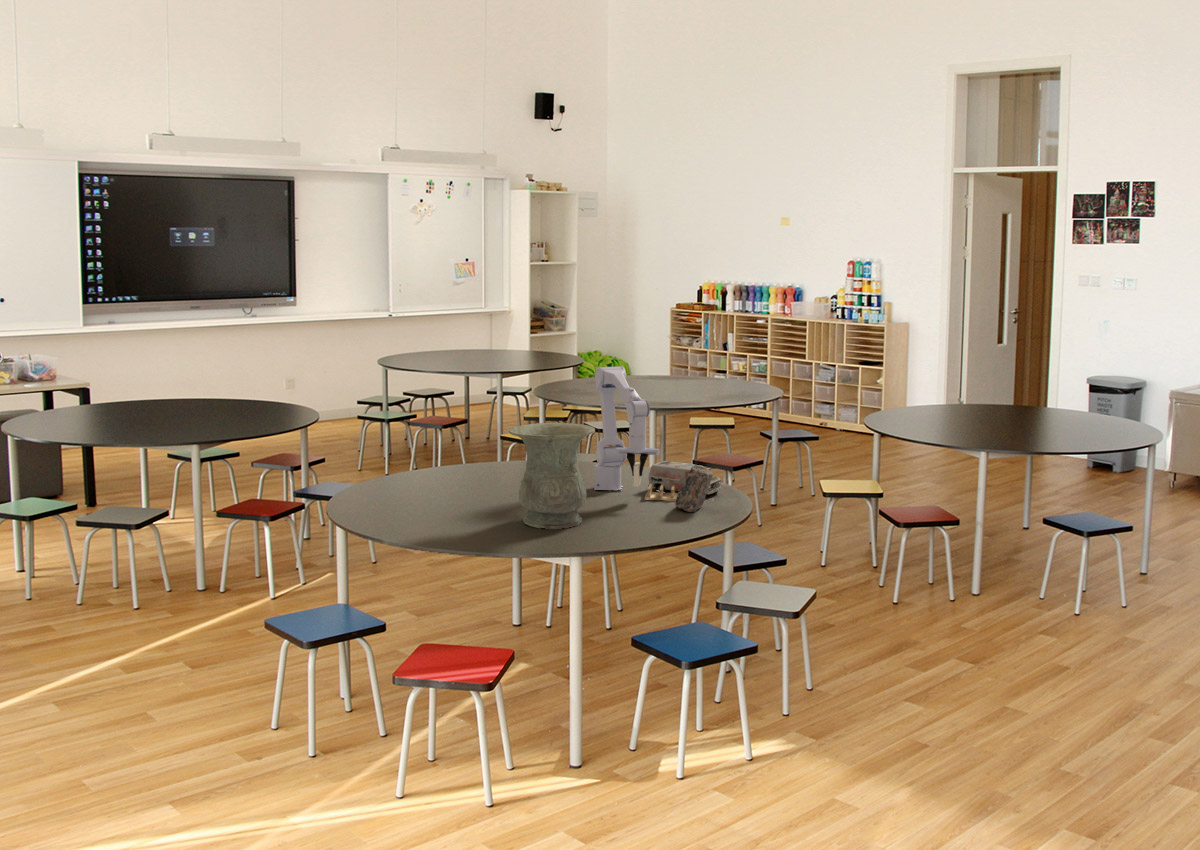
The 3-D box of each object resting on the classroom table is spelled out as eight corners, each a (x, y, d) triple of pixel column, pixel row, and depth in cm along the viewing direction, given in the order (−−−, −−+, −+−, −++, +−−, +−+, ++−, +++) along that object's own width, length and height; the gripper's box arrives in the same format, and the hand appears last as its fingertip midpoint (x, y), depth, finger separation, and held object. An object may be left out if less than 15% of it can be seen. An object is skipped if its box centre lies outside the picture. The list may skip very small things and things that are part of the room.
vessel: (548, 508, 373) (548, 419, 368) (611, 520, 356) (611, 427, 352) (491, 523, 352) (490, 429, 348) (554, 537, 336) (554, 438, 331)
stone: (679, 514, 365) (680, 469, 362) (666, 505, 377) (666, 462, 375) (717, 512, 368) (718, 467, 366) (702, 503, 381) (703, 460, 378)
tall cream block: (633, 486, 378) (633, 466, 377) (635, 482, 385) (635, 462, 384) (638, 486, 378) (639, 466, 376) (640, 482, 384) (641, 462, 383)
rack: (644, 500, 385) (644, 489, 384) (646, 494, 394) (646, 483, 393) (676, 501, 384) (676, 490, 383) (678, 495, 392) (678, 484, 392)
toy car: (708, 499, 388) (709, 471, 386) (646, 491, 401) (646, 463, 399) (722, 494, 396) (723, 466, 395) (661, 485, 410) (661, 459, 408)
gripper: (614, 437, 376) (614, 477, 378) (658, 438, 374) (657, 478, 376) (617, 433, 382) (617, 472, 385) (659, 434, 381) (659, 474, 383)
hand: (637, 475), depth 381 cm, fingers closed on tall cream block, 2 cm apart
